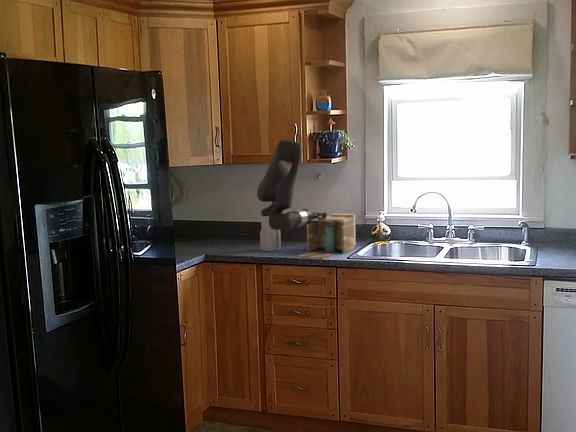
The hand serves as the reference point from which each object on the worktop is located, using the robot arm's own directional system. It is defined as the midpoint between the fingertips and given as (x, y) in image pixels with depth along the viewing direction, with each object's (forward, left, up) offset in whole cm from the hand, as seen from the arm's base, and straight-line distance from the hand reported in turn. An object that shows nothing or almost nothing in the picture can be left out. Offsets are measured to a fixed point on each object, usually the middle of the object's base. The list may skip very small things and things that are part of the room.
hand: (317, 214), depth 330 cm
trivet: (0, -3, -19) cm, 19 cm away
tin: (0, +12, -19) cm, 23 cm away
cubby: (0, +13, -19) cm, 23 cm away
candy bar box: (0, +27, -19) cm, 33 cm away
